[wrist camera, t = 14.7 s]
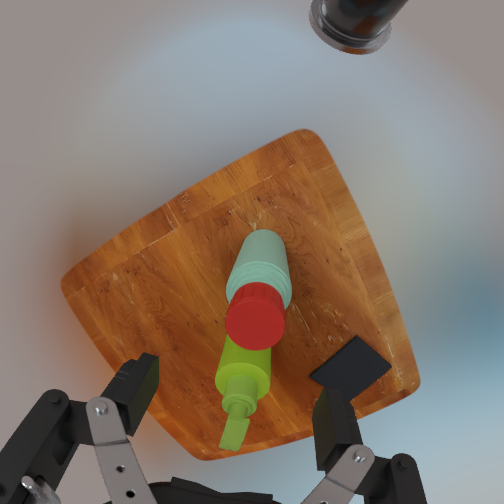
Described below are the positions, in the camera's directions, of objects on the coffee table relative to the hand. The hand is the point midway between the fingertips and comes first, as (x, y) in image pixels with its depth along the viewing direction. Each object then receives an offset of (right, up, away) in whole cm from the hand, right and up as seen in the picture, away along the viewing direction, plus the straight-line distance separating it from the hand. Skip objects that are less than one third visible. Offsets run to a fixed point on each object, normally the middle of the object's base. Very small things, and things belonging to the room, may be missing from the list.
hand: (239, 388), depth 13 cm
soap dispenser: (0, -5, +29) cm, 29 cm away
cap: (+1, +2, +10) cm, 10 cm away
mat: (+17, -13, +30) cm, 37 cm away
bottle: (+2, +7, +25) cm, 26 cm away
